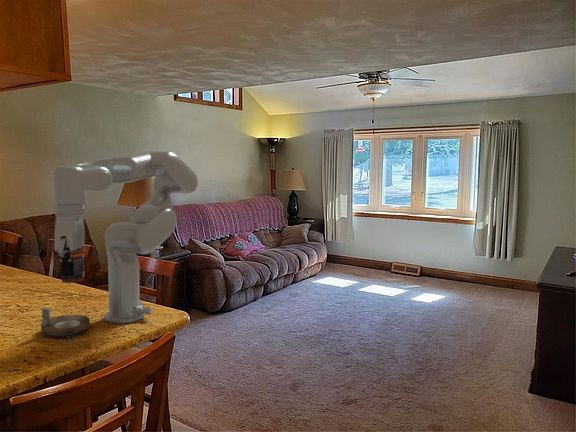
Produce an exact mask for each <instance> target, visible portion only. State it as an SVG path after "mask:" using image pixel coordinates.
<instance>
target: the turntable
mask: <svg viewBox="0 0 576 432" xmlns="http://www.w3.org/2000/svg"><path fill="white" fill-rule="evenodd" d="M41 316H42V318H41V320H42V322H41V324H40V330H41V332H42V333H43V334H68V333H74V332H78V331H81V330H83V329H84V330H85V329H87V328H89V326H90V324H91V320H90V317H89V316H87V315H84V314H63V315H59V316H53V317H51V308H50V307H44V308H42V309H41Z"/></svg>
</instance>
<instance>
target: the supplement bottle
mask: <svg viewBox="0 0 576 432" xmlns="http://www.w3.org/2000/svg"><path fill="white" fill-rule="evenodd" d="M65 250H69V249H65ZM66 254H68V256H69V253H66ZM72 261H73V263H74V275H73V276H62V275H61V274H60V276H61V277H60V278H61V282H62V283H65V284H75V283H79V282H82V281H84V280H85V265H84V250H82V249H80V248H78V249H76V250H75V251H73V256H72Z"/></svg>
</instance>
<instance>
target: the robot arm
mask: <svg viewBox="0 0 576 432" xmlns="http://www.w3.org/2000/svg"><path fill="white" fill-rule="evenodd" d="M152 177H154V180H153V192H152V193H153V194H152V196H151V197H150V198H149V199H148V200H146V201H145V202H144V203H143V204H141V205H140V206H139V207H138V208H136V209H135V210H134V211H133V212H132V213H131V215H130V218H129V221H126V222H124V221H119V222H114V223H112V224H110V225H109V226H108V227H107V228H106V229H105V233H104V244H105V249H106V254H107V264H108V265H107V266H108V267H107V269H108V275H107V276H108V278H107V279H108V312H105V313H104V314H103V320H104V322H108V323H110V324H129V323H134V322H137V321H140V320H142V319H143V318H144V317H145V315H151V314H152V308H151V306H144V305H143V301H140V262H139V258H138V255H149V254H151V253H152V252H154V251H155V250H156V249H157V248H159V247H160V246H161V245H162V244H163V243H164V242H165V241H166V240H167V239H168V238H169V237H170V236H171V235H172V234H173V233H174V231H175V229H176V226H177V223H178V217H177V213H176V212H175V211H174V209H173V208H174V207H173V206H174V205H173V200H172V194H192V193H193V192H194V191H196V190H197V188H198V184H199V180H198V177H197V174H196V173H195V171H194V170H193V169H192V168H191V167H190V166H189V165H188V164H187V163H186V161H184V160H183V159H182V158H181V157H180V156H178V155H177V153H174V152H171V151H159V150H157V151H156V150H155V151H153V150H152V151H145V152H140V153H136V154H131V155H125V156H119V157H111V158H107V159H106V158H105V159H100V160H98V159H97V160H93V161H86V162H81V163H77V164H73V165H59V166H55V167H54V169H53V188H54V189H53V193H54V211H55V222H54V224H55V225H54V251H55V252H57V254H58V255H59V256H58V257H59V259H60V260H59V261H60V276H61V275H62V276H73V275H74V263H73V261H72V256H73V251H75V250H76V249H78V248H80V249H82V250H83V249H84V246H85V244H86V243H85V241H86V235H85V233H86V231H85V222H84V216H85V215H86V206H85V205H86V203H85V191H89V192H103V191H105V190H107V189H108V188H110V187H111V185H112V184H127V183H129V184H130V183H134V182H137V181H141V180H145V179H148V178H152ZM65 249H69V250H65ZM83 251H84V250H83ZM66 253H69V256H68V254H66Z"/></svg>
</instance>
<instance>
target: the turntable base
mask: <svg viewBox="0 0 576 432" xmlns="http://www.w3.org/2000/svg"><path fill="white" fill-rule="evenodd" d="M84 331H85V329H83V330H81V331H78V332H74V333H68V334H47V333H46V334H47V336H48V337H51V338H57V339H58V338H66V339H67V342H69V343H70V342H73V337H74V336H77V335H80V334H81V333H83V332H84Z"/></svg>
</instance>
